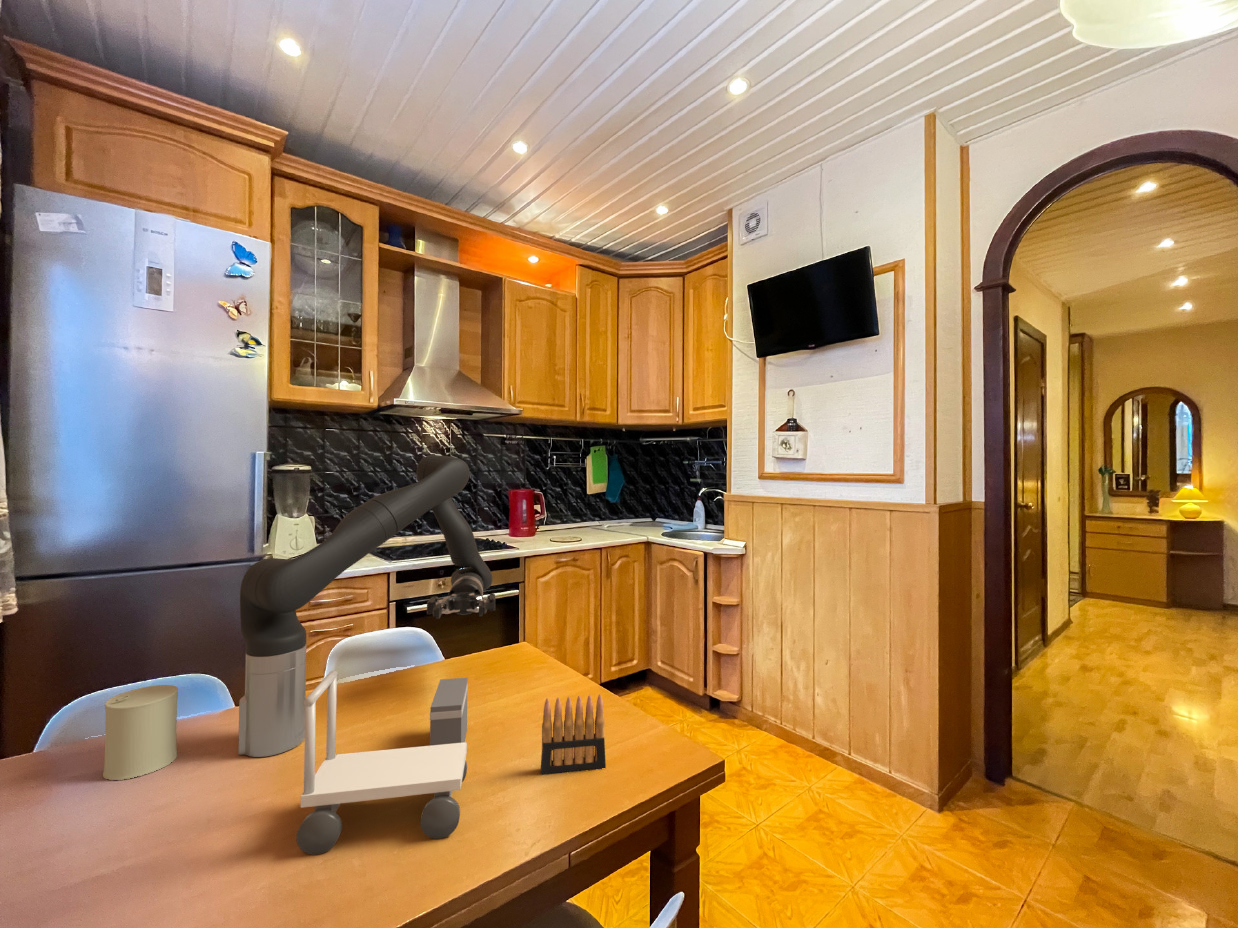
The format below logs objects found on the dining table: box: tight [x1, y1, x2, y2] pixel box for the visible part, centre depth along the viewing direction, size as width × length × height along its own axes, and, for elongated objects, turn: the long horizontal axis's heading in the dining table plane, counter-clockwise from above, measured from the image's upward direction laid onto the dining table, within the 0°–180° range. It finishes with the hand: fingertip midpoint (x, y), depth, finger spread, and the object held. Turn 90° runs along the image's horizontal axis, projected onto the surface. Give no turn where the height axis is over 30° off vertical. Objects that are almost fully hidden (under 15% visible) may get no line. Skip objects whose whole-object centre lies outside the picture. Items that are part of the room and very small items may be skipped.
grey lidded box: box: [429, 677, 469, 746], centre depth 94 cm, size 5×12×10 cm, turn 12°
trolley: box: [296, 670, 468, 856], centre depth 75 cm, size 20×12×20 cm, turn 101°
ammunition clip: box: [540, 694, 607, 776], centre depth 87 cm, size 11×2×12 cm, turn 101°
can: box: [102, 684, 179, 781], centre depth 88 cm, size 9×9×12 cm
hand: (459, 612), depth 108 cm, fingers open, 8 cm apart
